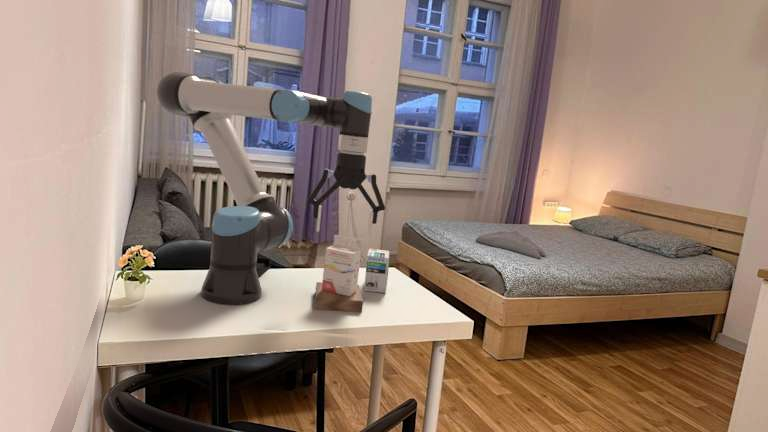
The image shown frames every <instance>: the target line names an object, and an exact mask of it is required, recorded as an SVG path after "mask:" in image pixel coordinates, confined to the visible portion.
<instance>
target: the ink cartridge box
mask: <svg viewBox="0 0 768 432" xmlns="http://www.w3.org/2000/svg"><path fill="white" fill-rule="evenodd" d="M343 241H348V242H349V243H347V242H343ZM350 242H351V243H350ZM361 247H362V240H361V239H360V238H355V237H350V236H344V235H339V234H334V235H333V245H330V246H328V247H326V249H325V253H324V254H325V256H324V262H323V263H324V265H323V273H322V290H325V291H330V292H334V293H338V294H343V295H347V296H351V295H352V294H354V293H355V292H356V291H357V285H358V282H359V281H358V280H359V271H360V262H361V254H362V252H361V249H362V248H361Z"/></svg>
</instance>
